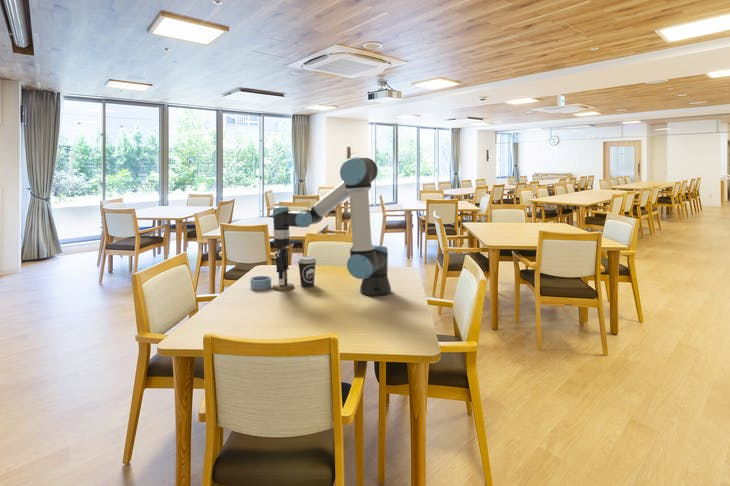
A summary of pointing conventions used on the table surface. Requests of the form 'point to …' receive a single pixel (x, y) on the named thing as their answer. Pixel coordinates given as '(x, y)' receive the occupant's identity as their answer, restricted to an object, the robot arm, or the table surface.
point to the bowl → (260, 282)
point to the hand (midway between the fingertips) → (283, 283)
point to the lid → (283, 287)
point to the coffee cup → (307, 270)
